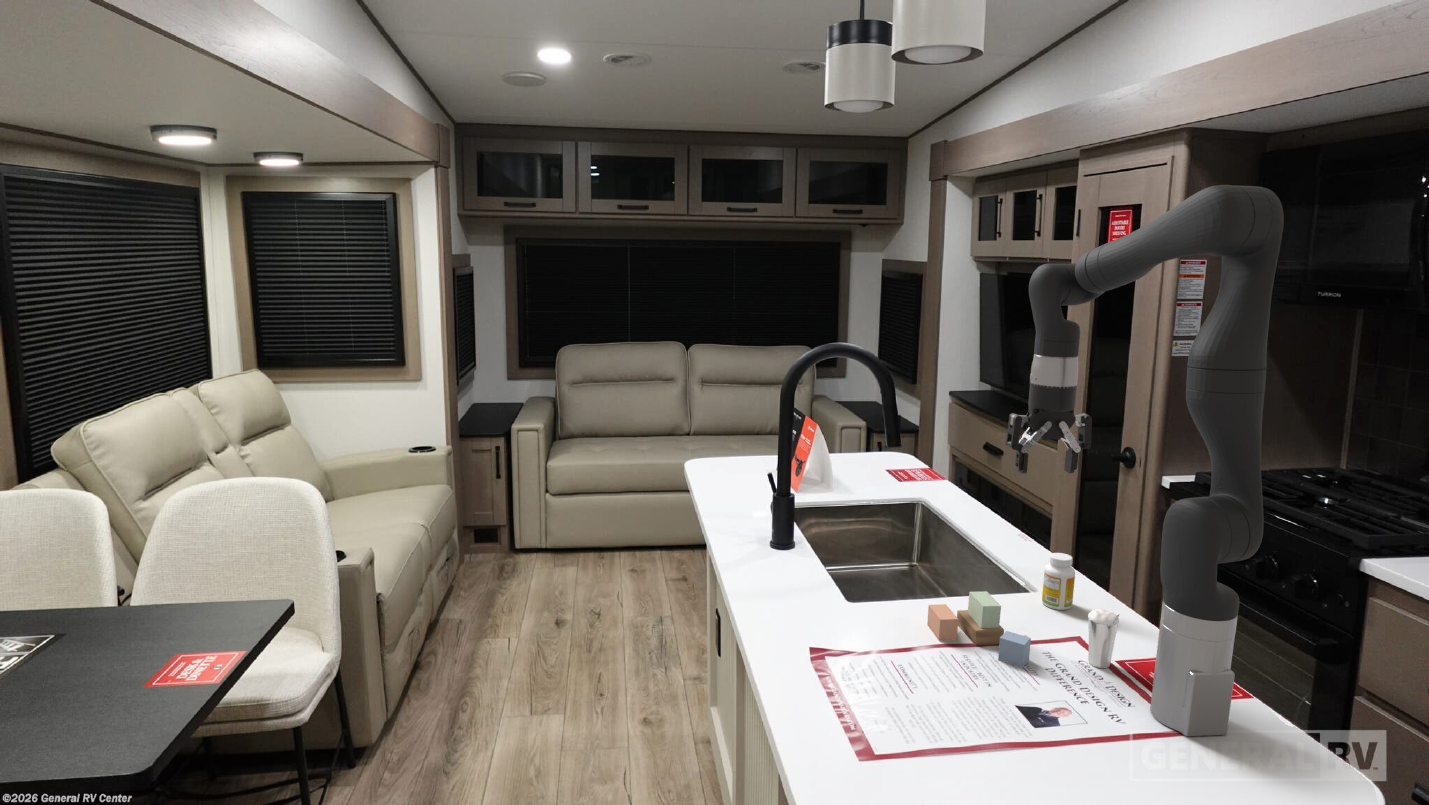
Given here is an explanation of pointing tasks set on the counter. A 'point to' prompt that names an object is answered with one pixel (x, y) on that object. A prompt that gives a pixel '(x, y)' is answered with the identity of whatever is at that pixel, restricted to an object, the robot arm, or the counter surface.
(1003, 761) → the counter surface
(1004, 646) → the slate brick
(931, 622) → the terracotta brick
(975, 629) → the walnut block
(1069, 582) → the supplement bottle
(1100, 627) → the milkshake
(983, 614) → the sage brick
